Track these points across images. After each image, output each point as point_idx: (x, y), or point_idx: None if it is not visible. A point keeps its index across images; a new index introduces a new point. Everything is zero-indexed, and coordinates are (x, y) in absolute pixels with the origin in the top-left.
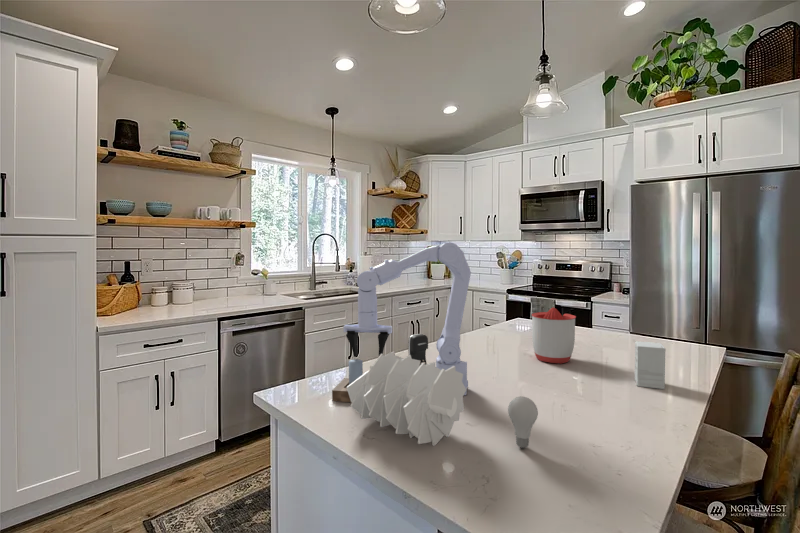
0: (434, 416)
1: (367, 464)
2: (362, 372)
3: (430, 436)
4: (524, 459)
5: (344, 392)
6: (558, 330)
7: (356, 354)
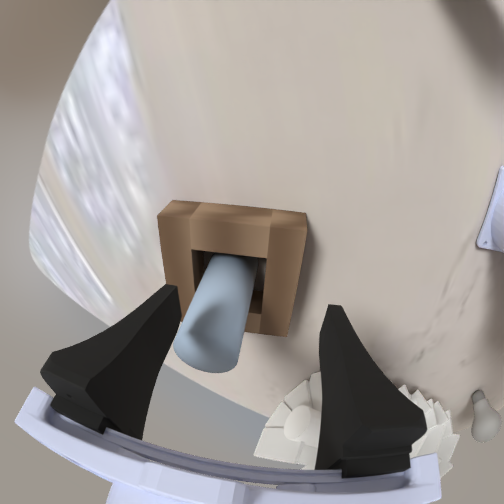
0: None
1: None
2: (245, 320)
3: None
4: (462, 404)
5: None
6: None
7: (176, 314)
